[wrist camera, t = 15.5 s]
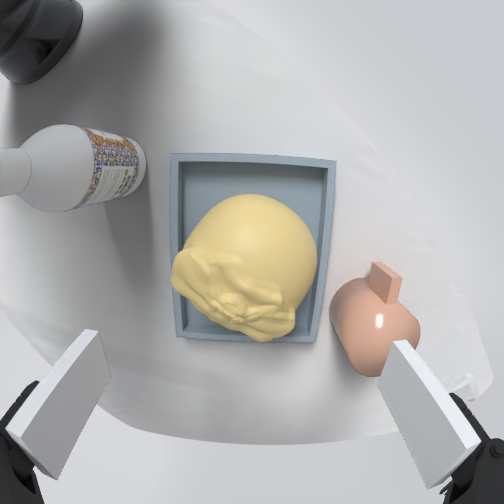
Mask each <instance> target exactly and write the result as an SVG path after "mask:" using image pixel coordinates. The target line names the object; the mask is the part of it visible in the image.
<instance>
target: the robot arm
mask: <svg viewBox="0 0 504 504" xmlns="http://www.w3.org/2000/svg"><path fill="white" fill-rule="evenodd" d="M82 15H83V12H82V7H81V5H80V4H79V3H78V2H77V1H76V0H0V72H1V73H2V74H3V75H4V76H5V77H6V78H7V79H8V80H10V81H12V82H16V83H19V84H28V83H31V82H34V81H36V80H37V79H39V78H40V77H42V76H43V75H45V74H46V73H47V72H48V71H49V70H50V69H51V68H52V67H53V66H54V65H55V64H56V63H57V62H58V61H59V60H60V59H61V58H62V56H63V55H64V54H65V52H66V51H67V50H68V48H69V47H70V45H71V44H72V42H73V40H74V38H75V36H76V34H77V32H78V30H79V28H80V25H81V21H82ZM110 379H111V374H110V371H109V367H108V364H107V360H106V357H105V353H104V350H103V346H102V342H101V338H100V334H99V331H95V330H90V329H84V331H83V332H82V333H81V334H80V335H79V336H78V337H77V338H76V340H75V341H74V342H73V343H72V344H71V345H70V347H69V348H68V349H67V350H66V351H65V352H64V353H63V355H62V356H61V357H60V358H59V359H58V361H57V362H56V363H55V364H54V365H53V367H52V368H51V369H50V370H49V371H48V373H47V374H46V375H45V376H44V378H43V379H42V380H41V381H40V382H39V381H37V380H36V381H34V382H33V383H31V384H30V385H28V386H27V387H26V388H25V389H24V390H23V392H22V393H21V396H19V397H18V398H17V399H16V402H14V403H13V405H12V406H11V407H10V408H9V410H8V411H7V413H6V414H5V415H4V416H3V418H2V419H1V420H0V504H44V501H43V498H42V495H41V492H40V488H39V485H38V482H37V478H36V475H35V473H34V471H33V467H34V466H36V467H37V468H38V469H39V470H40V471H41V472H42V473H43V474H45V475H47V476H49V477H51V478H53V479H55V480H58V478H59V476H60V474H61V472H62V469H63V467H64V465H65V463H66V461H67V459H68V457H69V455H70V453H71V451H72V449H73V447H74V445H75V443H76V441H77V439H78V437H79V435H80V433H81V431H82V429H83V428H84V426H85V424H86V422H87V420H88V418H89V416H90V415H91V413H92V411H93V409H94V407H95V405H96V404H97V402H98V400H99V398H100V396H101V395H102V393H103V391H104V389H105V388H106V386H107V384H108V382H109V381H110ZM377 387H378V389H379V391H380V393H381V395H382V397H383V398H384V400H385V402H386V404H387V406H388V408H389V410H390V412H391V414H392V416H393V418H394V420H395V422H396V424H397V426H398V428H399V430H400V432H401V434H402V436H403V438H404V440H405V442H406V445H407V447H408V449H409V451H410V453H411V455H412V457H413V459H414V461H415V464H416V466H417V468H418V470H419V472H420V474H421V476H422V479H423V481H424V483H425V486H426V488H427V489H430V488H432V487H435V486H437V485H439V484H441V483H443V482H444V481H445V480H446V479H447V478H448V477H449V476H450V475H451V477H452V479H453V480H452V481H451V482H449V483H448V484H447V485H446V486H445V487H444V488H443V489H442V490H441V491H440V493H439V494H442V493H443V492H445V491H446V490H447V489H448V490H447V492H446V493H445V495H446V496H445V499H444V502H443V504H504V441H503V440H501V439H499V438H494V439H490V438H489V436H488V435H487V434H486V432H485V431H484V429H483V428H482V426H481V425H480V424H479V422H478V421H477V419H476V418H475V417H474V415H472V413H471V411H470V410H469V409H467V406H466V404H465V403H464V402H463V400H462V399H461V398H460V397H458V396H457V395H455V394H454V393H453V392H452V393H449V394H448V393H447V391H446V390H445V389H444V387H443V386H442V385H441V383H440V382H439V381H438V379H437V378H436V377H435V375H434V374H433V373H432V371H431V370H430V369H429V368H428V366H427V365H426V364H425V362H424V361H423V360H422V359H421V357H420V356H419V355H418V354H417V352H416V351H415V350H414V349H413V347H412V346H411V345H410V344H409V343H408V341H407V340H399V341H393V342H392V345H391V348H390V351H389V354H388V357H387V360H386V363H385V365H384V368H383V371H382V373H381V376H380V379H379V381H378V384H377Z"/></svg>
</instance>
